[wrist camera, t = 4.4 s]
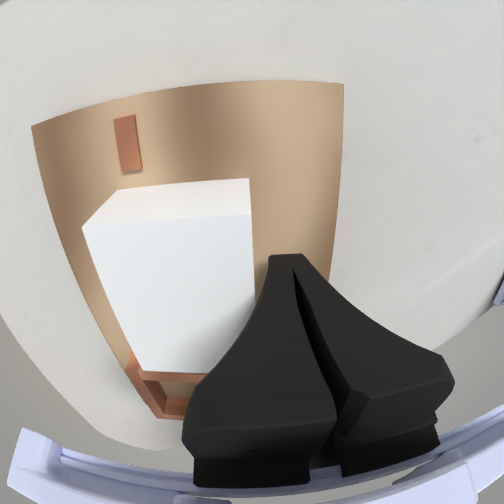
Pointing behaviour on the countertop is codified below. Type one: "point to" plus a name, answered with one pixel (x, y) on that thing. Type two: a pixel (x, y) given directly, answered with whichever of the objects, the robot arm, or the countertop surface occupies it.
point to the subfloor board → (198, 169)
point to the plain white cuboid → (177, 269)
